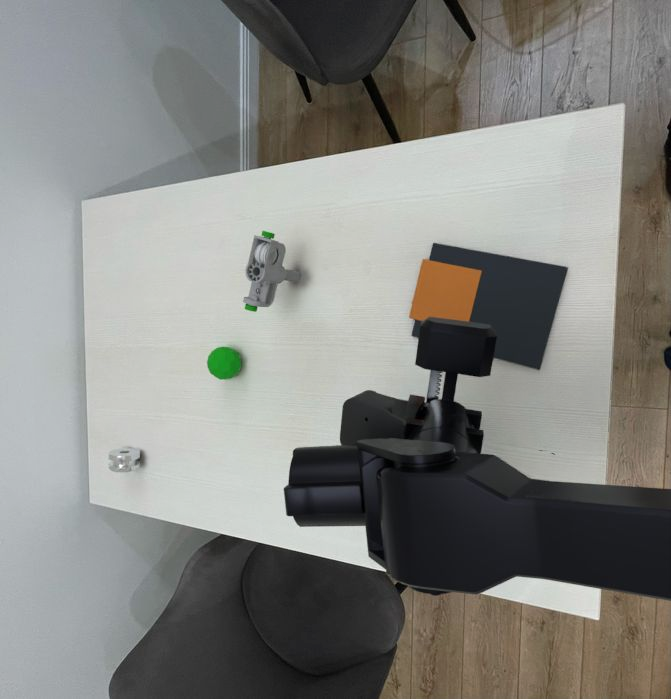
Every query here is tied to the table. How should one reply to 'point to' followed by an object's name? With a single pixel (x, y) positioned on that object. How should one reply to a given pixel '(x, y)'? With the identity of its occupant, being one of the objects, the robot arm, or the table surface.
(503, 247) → the table surface
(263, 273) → the mechanical component
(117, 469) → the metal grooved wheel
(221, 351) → the polyhedron
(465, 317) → the pad
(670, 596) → the robot arm
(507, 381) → the table surface
